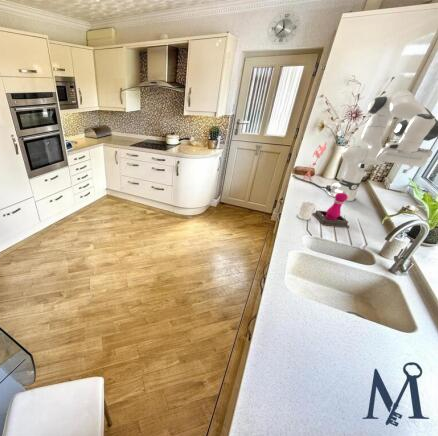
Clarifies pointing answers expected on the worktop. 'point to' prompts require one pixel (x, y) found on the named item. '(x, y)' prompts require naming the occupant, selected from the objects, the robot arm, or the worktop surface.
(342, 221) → the dock pad
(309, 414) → the worktop surface
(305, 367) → the worktop surface
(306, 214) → the white cup
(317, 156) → the figurine
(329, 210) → the pepper mill
